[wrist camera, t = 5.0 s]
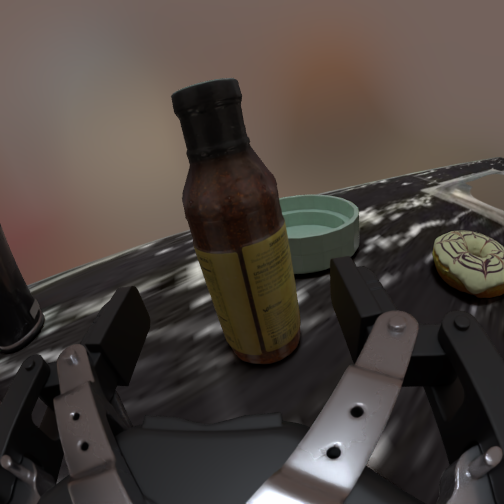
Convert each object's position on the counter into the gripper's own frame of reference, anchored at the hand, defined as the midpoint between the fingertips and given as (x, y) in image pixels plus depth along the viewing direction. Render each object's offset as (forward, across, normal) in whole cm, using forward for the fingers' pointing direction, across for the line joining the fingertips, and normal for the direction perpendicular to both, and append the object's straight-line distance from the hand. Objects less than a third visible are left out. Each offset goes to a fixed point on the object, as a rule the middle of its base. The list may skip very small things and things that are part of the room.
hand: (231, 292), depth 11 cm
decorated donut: (+11, -24, +11) cm, 29 cm away
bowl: (+24, -6, +11) cm, 27 cm away
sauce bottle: (+8, 0, +11) cm, 14 cm away
